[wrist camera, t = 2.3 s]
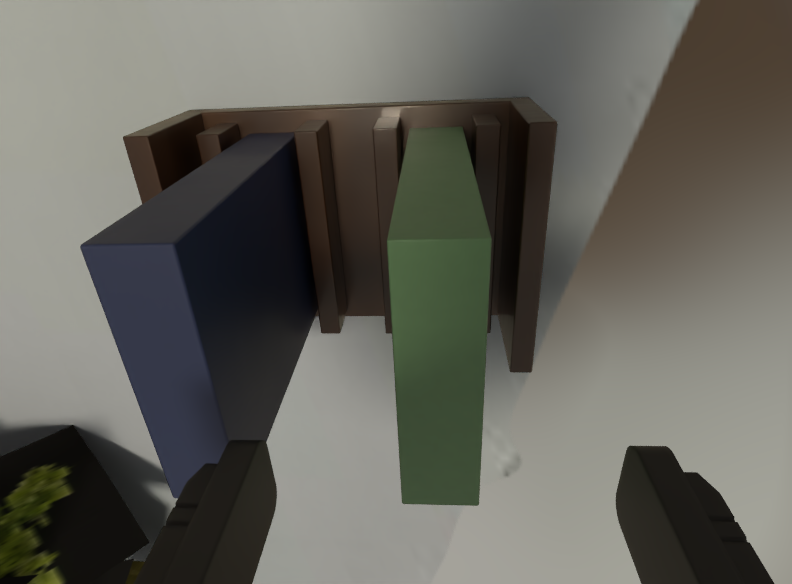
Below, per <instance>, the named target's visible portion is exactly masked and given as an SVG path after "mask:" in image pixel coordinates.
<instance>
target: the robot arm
mask: <svg viewBox="0 0 792 584" xmlns="http://www.w3.org/2000/svg"><path fill="white" fill-rule="evenodd" d="M276 498H277V489H276V483H275V478H274V474H273V469H272V465H271V461H270V456H269V452H268V447H267V444H266V442H265V441H264V440H230V441H229V442H228V444H227V446H226V447H225V450H224V452H223V454H222V456H221V458H220V460H219V462H218V464H213V463H205V464H204V465H203V466H202V467H201V468H200V469H199V470H198V471H197V472H196V473H195V474H194V475H193V476H192V477H191V478H190V479H189V480H188V481H187V483H186V484H185V486H184V488H183V490H182V492H181V494H180V496H179V498H178V500H177V502H176V506H175V508H173V509H172V511H171V513H170V515H169V517H168V519H167V521H166V526H163V528H162V530H161V532H160V534H159V536H158V538H157V540H156V542H155V544H154V545H153V547H152V549H151V551H150V553H149V555H148V557H147V559H146V561H145V563H144V565H143V566H142V568H141V570H140V572H139V574H138V576H137V578H136V580H135V582H134V584H252V582H253V579H254V576H255V573H256V570H257V566H258V563H259V560H260V557H261V554H262V551H263V548H264V544H265V541H266V538H267V535H268V532H269V529H270V525H271V522H272V519H273V516H274V512H275V507H276ZM616 509H617V516H618V520H619V524H620V526H621V529H622V532H623V534H624V537H625V540H626V543H627V545H628V548H629V551H630V554H631V556H632V559H633V562H634V564H635V567H636V570H637V573H638V575H639V578H640V581H641V583H642V584H774V582H773V581H772V579H771V578H770V576H769V574H768V572H767V571H766V569H765V567H764V566H763V564H762V563H761V561H760V559H759V558H758V556H757V554H756V553H755V551H754V549H753V548H752V546H751V544H750V543H748V542H747V540H746V536H745V534H744V532H743V531H742V529H741V527H740V526H739V524H738V523H737V522H735V520H734V516H733V514H732V513H731V511H730V509H729V508H728V506H727V504H726V503H725V501H724V499H723V498H722V496H721V494H720V493H719V492H718V491H717V490H716V489H715V488H714V487H712V486H711V485H710V484H709V483H708V482H707V481H706V480H705V479H703V478H702V477H701V476H700V475H699V474H698V473H692V472H683V470H682V469H681V467H680V465H679V463H678V461H677V459H676V458H675V456H674V454H673V452H672V451H671V450H670V449H669V448H668V447H666V446H629V447H628V448H627V450H626V454H625V458H624V462H623V467H622V471H621V476H620V480H619V484H618V488H617V493H616Z"/></svg>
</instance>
